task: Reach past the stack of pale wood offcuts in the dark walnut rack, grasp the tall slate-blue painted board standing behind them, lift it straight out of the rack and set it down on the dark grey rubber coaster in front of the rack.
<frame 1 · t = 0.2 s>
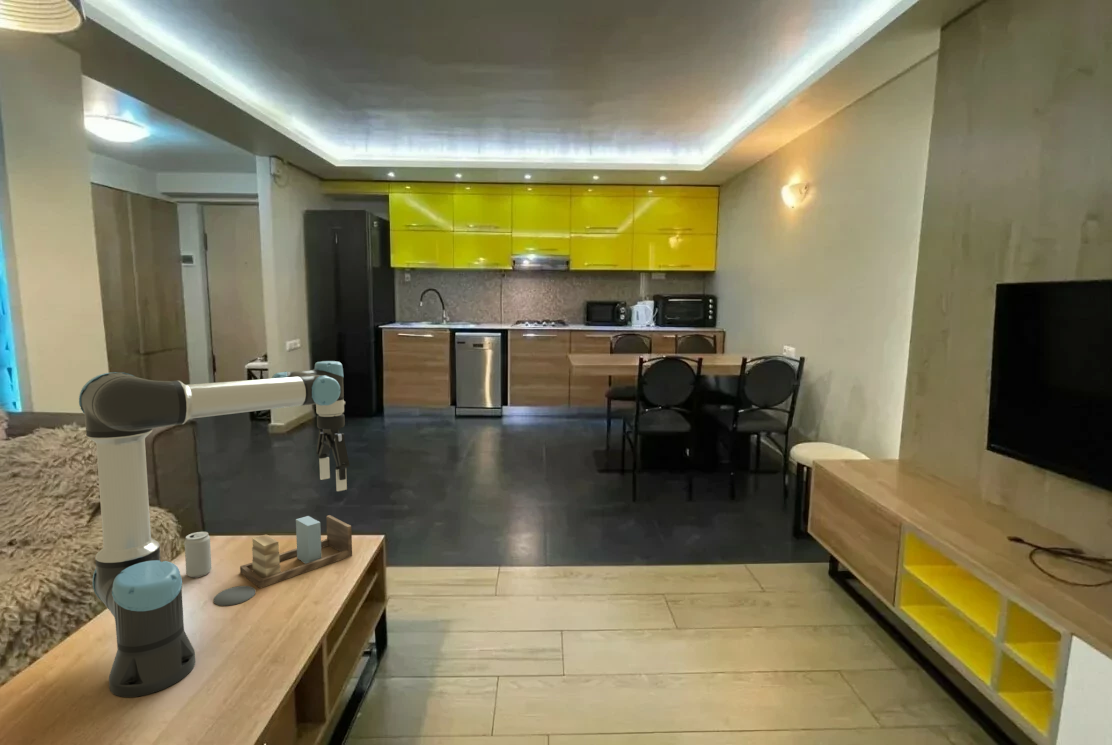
hand: (333, 484, 163), 28 cm above the table, fingers open, 13 cm apart
offcut c: (265, 549, 163), point 8 cm above the table, touching offcut b
coaster: (235, 596, 152), on the table
offcut a: (266, 575, 164), resting in rack, touching offcut b
tall board: (309, 560, 174), resting in rack
offcut b: (266, 562, 164), point 4 cm above the table, touching offcut a, offcut c
rack: (298, 563, 172), on the table
beverage can: (199, 574, 164), on the table
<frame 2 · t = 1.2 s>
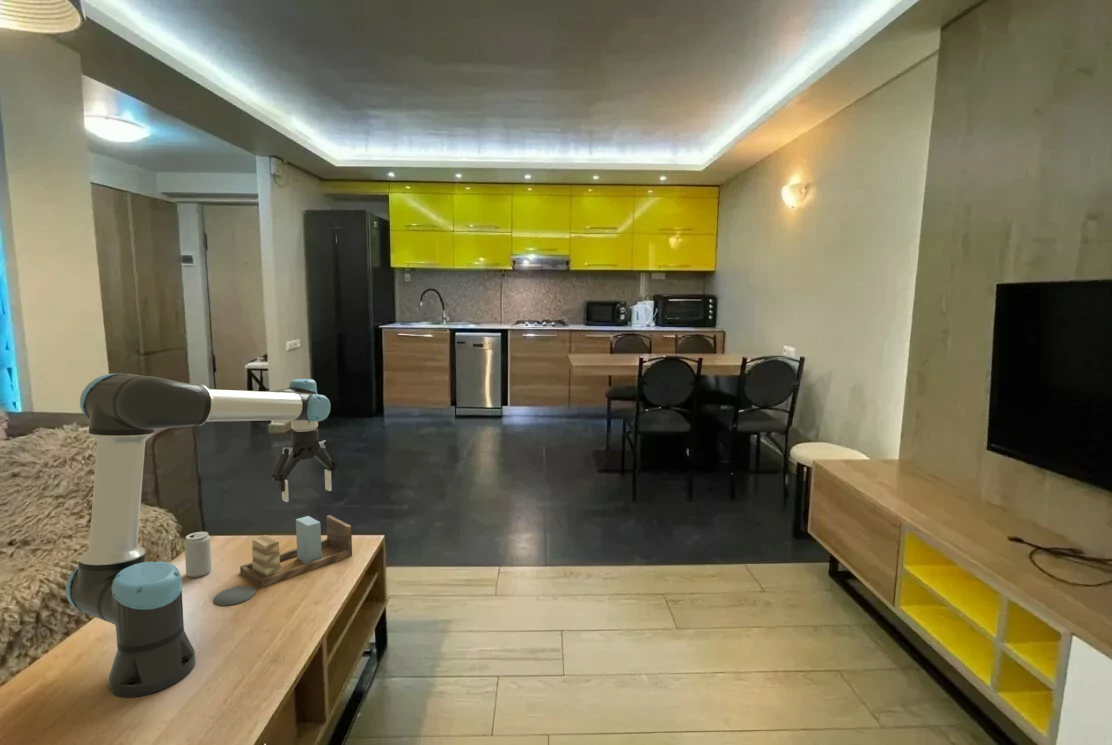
hand: (307, 495, 172), 21 cm above the table, fingers open, 13 cm apart
nothing on the table moved.
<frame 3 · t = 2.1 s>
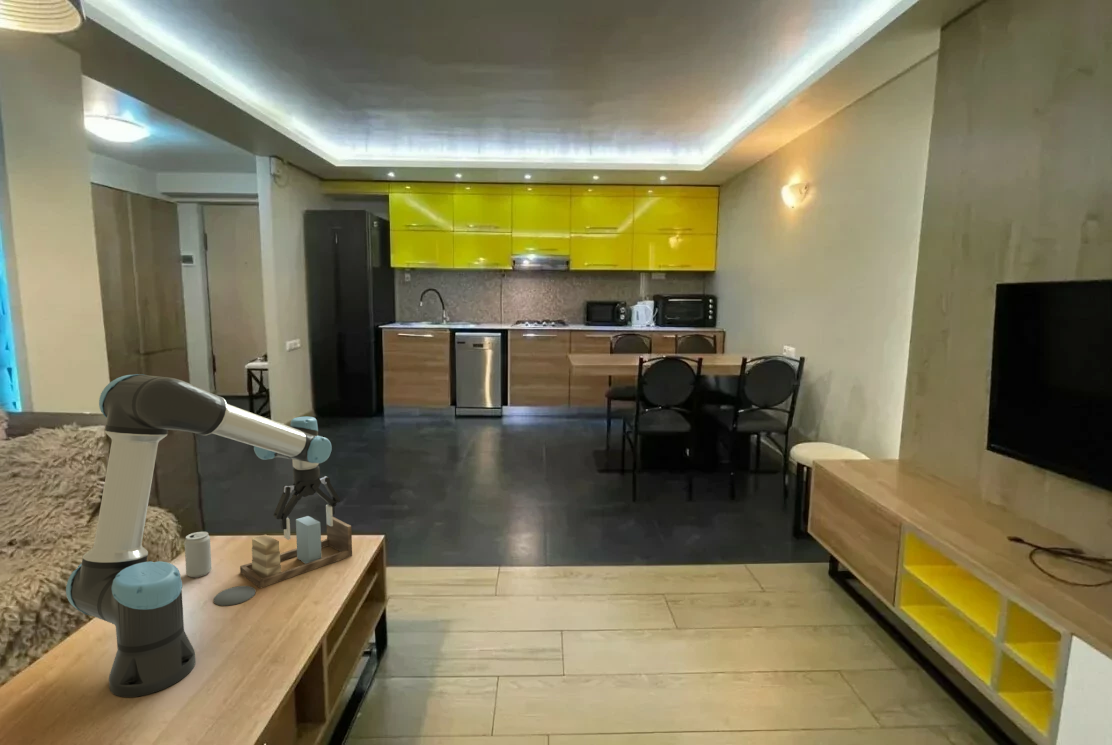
hand: (309, 531, 173), 9 cm above the table, fingers open, 13 cm apart
nothing on the table moved.
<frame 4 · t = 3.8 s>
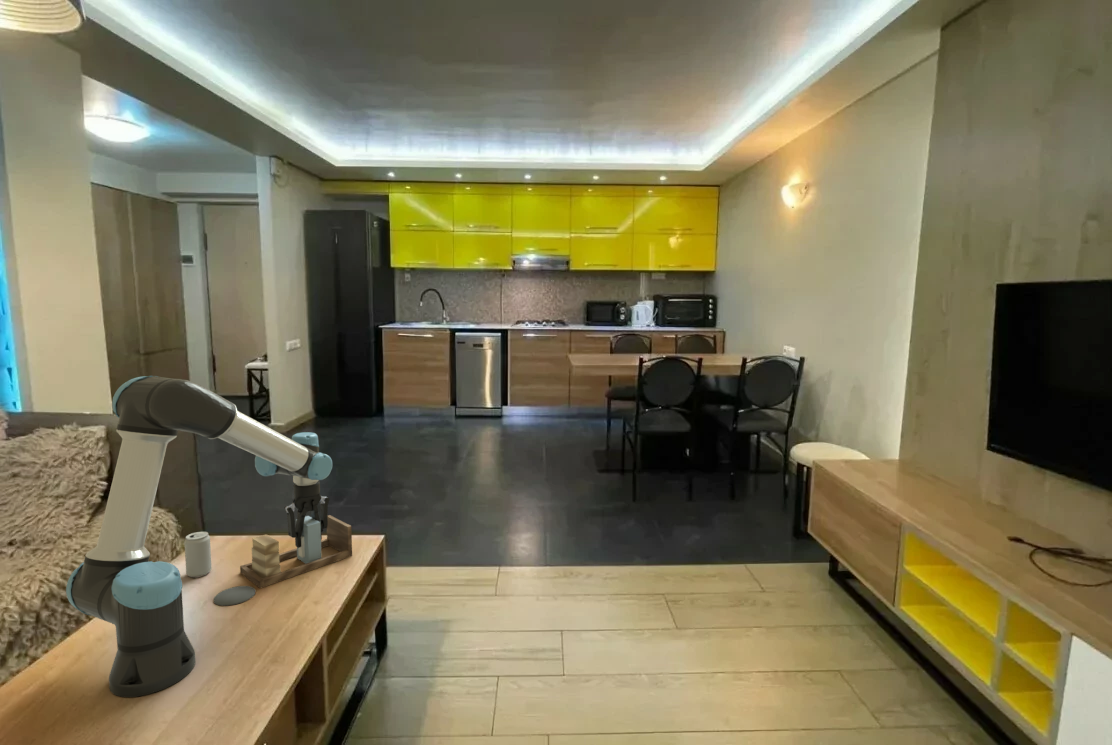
hand: (309, 553, 174), 2 cm above the table, fingers closed on tall board, 4 cm apart
offcut a: (266, 575, 164), resting in rack
tall board: (309, 560, 174), resting in rack, touching gripper
offcut b: (265, 562, 164), point 4 cm above the table, touching offcut c
everything else where it was.
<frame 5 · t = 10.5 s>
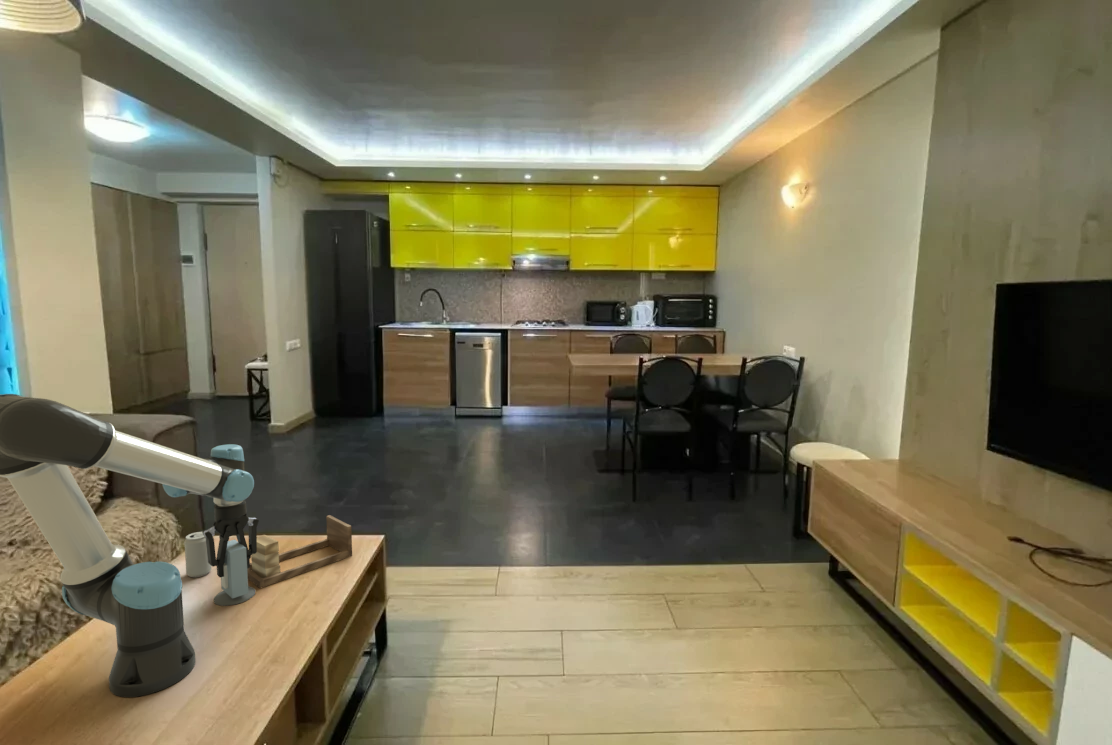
hand: (234, 583, 151), 4 cm above the table, fingers closed on tall board, 4 cm apart
offcut a: (266, 575, 164), resting in rack, touching offcut b
tall board: (234, 590, 152), point 2 cm above the table, touching gripper
offcut b: (265, 562, 164), point 4 cm above the table, touching offcut a, offcut c
everything else where it was.
when the fingers open (3 cm above the table, at t = 11.3 s): tall board stays where it is, resting on coaster.
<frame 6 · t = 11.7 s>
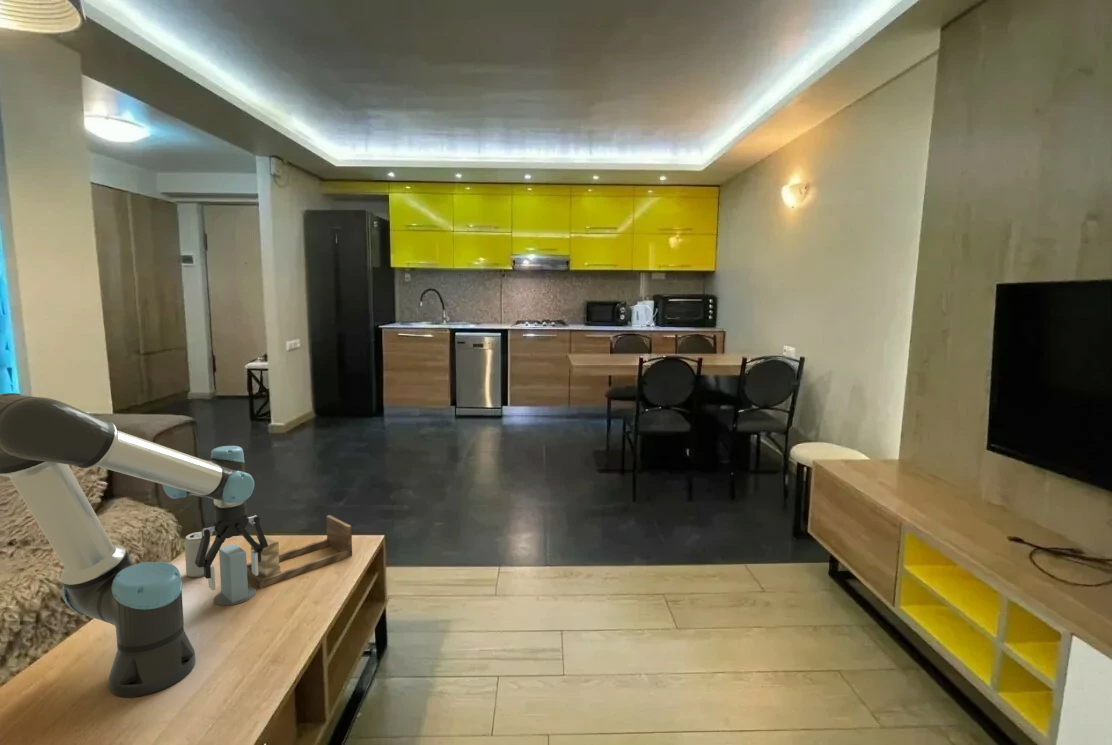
hand: (234, 580, 151), 4 cm above the table, fingers open, 10 cm apart
tall board: (234, 594, 152), resting on coaster
everything else where it was.
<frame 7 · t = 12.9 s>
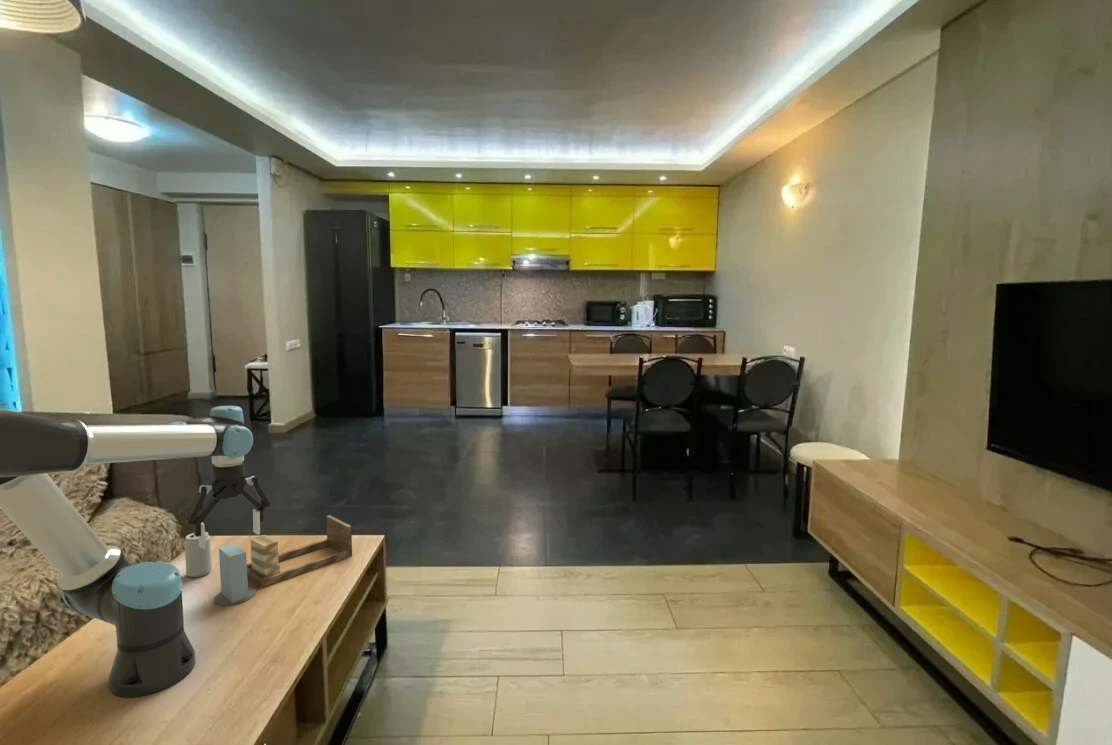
hand: (230, 540, 149), 16 cm above the table, fingers open, 13 cm apart
offcut a: (266, 575, 164), resting in rack
offcut b: (264, 562, 164), point 4 cm above the table, touching offcut c
everything else where it was.
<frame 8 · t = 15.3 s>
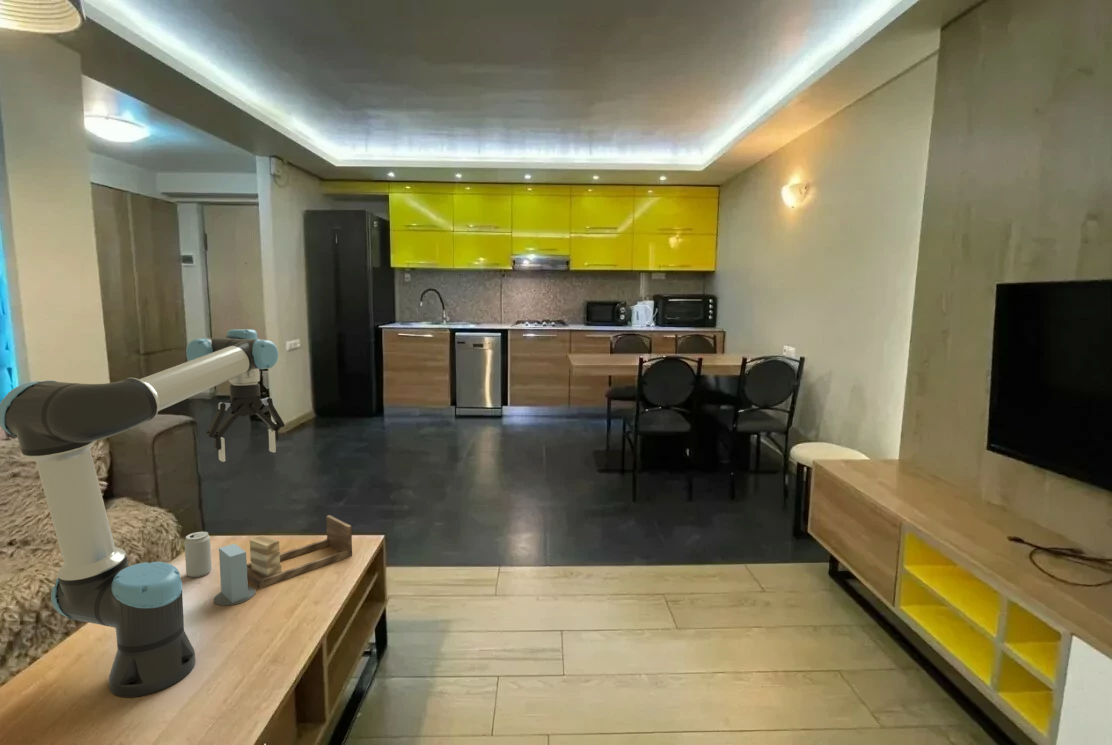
hand: (248, 456, 159), 37 cm above the table, fingers open, 13 cm apart
offcut a: (266, 575, 164), resting in rack, touching offcut b
offcut b: (265, 562, 164), point 4 cm above the table, touching offcut a, offcut c
everything else where it was.
at the end: tall board 0.1 cm from the coaster (horizontally); tall board resting on coaster; tall board moved 24.9 cm from its start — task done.
